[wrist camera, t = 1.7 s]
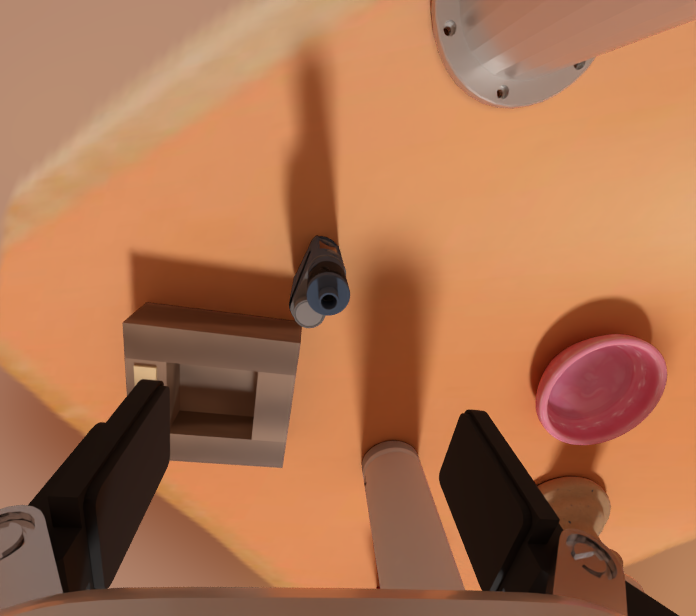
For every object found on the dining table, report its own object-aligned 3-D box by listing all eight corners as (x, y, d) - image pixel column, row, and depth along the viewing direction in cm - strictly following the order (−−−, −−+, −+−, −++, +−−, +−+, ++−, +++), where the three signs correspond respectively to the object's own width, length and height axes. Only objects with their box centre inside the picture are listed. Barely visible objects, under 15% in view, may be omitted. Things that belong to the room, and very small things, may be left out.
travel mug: (348, 470, 39) (377, 750, 20) (385, 430, 37) (455, 696, 19) (391, 492, 41) (455, 767, 22) (429, 454, 39) (532, 718, 20)
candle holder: (604, 528, 47) (796, 772, 28) (513, 554, 47) (643, 811, 28) (603, 462, 42) (833, 704, 23) (501, 492, 42) (648, 752, 24)
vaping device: (344, 241, 29) (362, 291, 18) (317, 296, 31) (318, 372, 20) (316, 227, 28) (316, 270, 17) (289, 284, 30) (274, 355, 19)
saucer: (521, 434, 39) (538, 456, 36) (526, 336, 34) (546, 352, 32) (630, 414, 40) (655, 434, 37) (650, 313, 35) (681, 327, 32)
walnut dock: (146, 302, 30) (121, 323, 26) (302, 321, 32) (300, 344, 28) (150, 426, 34) (129, 459, 30) (285, 436, 36) (282, 469, 32)
